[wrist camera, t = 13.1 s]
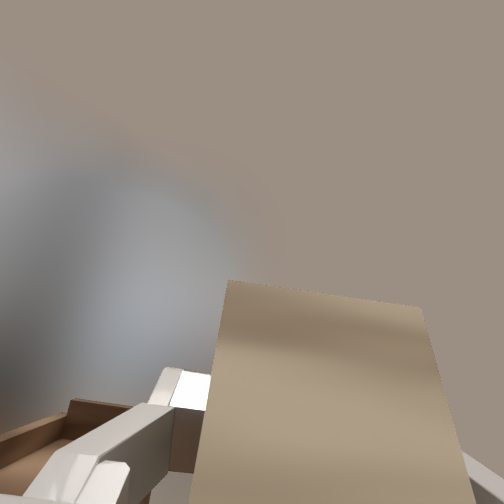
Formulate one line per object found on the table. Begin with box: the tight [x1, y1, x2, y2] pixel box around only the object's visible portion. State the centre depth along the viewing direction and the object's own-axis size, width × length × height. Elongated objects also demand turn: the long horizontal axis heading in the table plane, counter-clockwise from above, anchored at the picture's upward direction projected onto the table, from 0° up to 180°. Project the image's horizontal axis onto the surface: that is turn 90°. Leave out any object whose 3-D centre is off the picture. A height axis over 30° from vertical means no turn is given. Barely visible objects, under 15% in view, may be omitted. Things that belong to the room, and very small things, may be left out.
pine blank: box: [189, 280, 476, 504], centre depth 14 cm, size 22×4×4 cm, turn 4°
